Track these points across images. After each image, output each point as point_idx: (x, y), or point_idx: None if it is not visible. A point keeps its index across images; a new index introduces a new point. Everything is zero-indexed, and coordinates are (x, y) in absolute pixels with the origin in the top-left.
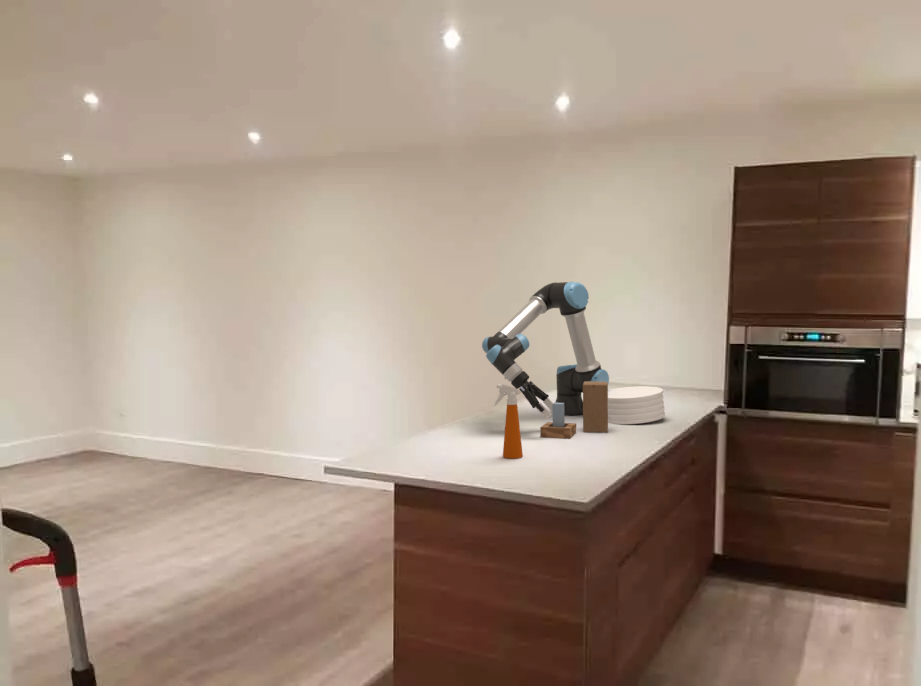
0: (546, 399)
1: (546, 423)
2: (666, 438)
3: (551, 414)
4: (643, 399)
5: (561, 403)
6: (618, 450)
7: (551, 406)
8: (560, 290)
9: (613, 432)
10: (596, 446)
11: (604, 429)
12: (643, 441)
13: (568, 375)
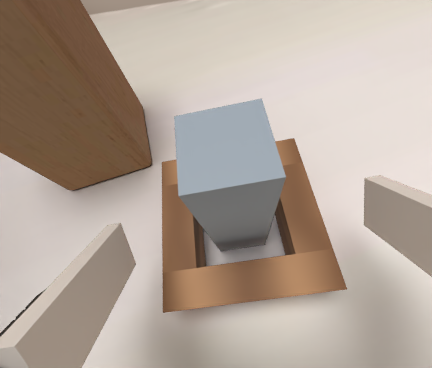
0: (35, 359)
1: (206, 301)
2: (177, 5)
3: (377, 176)
4: None
5: (217, 120)
6: (363, 16)
7: (103, 281)
8: None
9: None
10: (353, 62)
11: (140, 105)
12: (228, 19)
13: None
